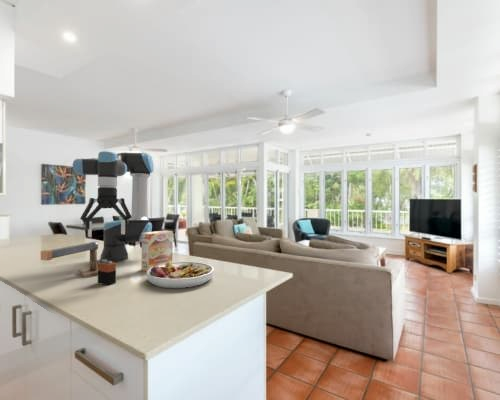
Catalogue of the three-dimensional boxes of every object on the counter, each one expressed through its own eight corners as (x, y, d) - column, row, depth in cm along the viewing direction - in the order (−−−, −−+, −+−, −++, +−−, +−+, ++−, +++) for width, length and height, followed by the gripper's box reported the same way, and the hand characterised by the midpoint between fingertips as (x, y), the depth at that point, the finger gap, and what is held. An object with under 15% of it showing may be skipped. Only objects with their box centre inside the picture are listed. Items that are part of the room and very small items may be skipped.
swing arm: (99, 248, 138) (100, 241, 137) (47, 260, 112) (47, 251, 112) (93, 248, 139) (93, 241, 139) (40, 259, 113) (40, 251, 113)
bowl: (191, 268, 150) (191, 253, 150) (226, 280, 129) (226, 264, 129) (135, 279, 129) (136, 262, 129) (167, 296, 108) (167, 276, 108)
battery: (106, 280, 126) (106, 258, 125) (116, 282, 123) (116, 260, 122) (97, 283, 122) (97, 260, 122) (107, 285, 119) (107, 262, 118)
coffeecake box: (148, 272, 140) (148, 233, 140) (140, 269, 144) (141, 232, 144) (173, 266, 152) (173, 231, 152) (165, 264, 156) (165, 230, 156)
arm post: (101, 269, 143) (101, 246, 143) (107, 273, 136) (107, 249, 136) (79, 273, 136) (79, 249, 136) (84, 277, 129) (84, 252, 129)
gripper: (132, 188, 133) (132, 232, 133) (72, 186, 115) (71, 237, 115) (139, 188, 128) (138, 233, 128) (77, 185, 110) (76, 239, 110)
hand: (107, 235), depth 122 cm, fingers open, 13 cm apart
